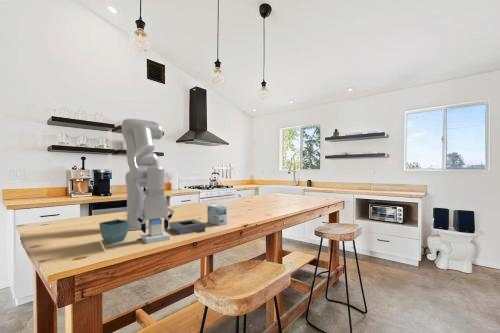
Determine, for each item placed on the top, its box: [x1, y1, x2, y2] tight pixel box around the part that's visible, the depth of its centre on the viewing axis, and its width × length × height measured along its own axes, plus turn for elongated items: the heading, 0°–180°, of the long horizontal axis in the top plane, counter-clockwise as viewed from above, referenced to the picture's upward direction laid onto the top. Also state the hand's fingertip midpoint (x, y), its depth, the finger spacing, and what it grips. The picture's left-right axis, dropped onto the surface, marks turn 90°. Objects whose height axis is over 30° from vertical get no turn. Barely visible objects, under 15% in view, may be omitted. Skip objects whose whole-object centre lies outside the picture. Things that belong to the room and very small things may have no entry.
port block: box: [168, 218, 206, 236], centre depth 129 cm, size 14×14×4 cm
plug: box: [148, 218, 163, 237], centre depth 112 cm, size 5×5×9 cm
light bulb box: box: [206, 203, 228, 226], centre depth 146 cm, size 11×7×11 cm, turn 49°
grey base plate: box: [140, 230, 171, 245], centre depth 112 cm, size 10×10×2 cm
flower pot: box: [98, 219, 129, 245], centre depth 108 cm, size 9×9×9 cm
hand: (155, 230), depth 112 cm, fingers open, 9 cm apart
